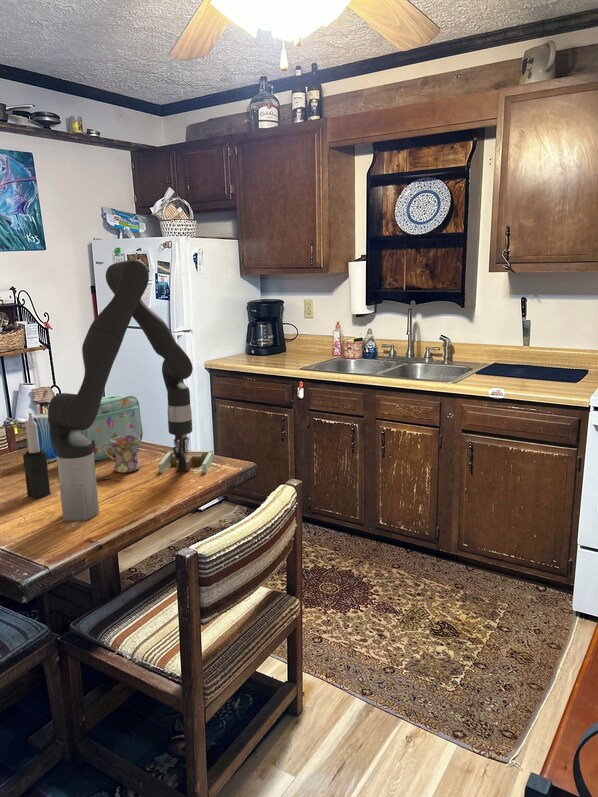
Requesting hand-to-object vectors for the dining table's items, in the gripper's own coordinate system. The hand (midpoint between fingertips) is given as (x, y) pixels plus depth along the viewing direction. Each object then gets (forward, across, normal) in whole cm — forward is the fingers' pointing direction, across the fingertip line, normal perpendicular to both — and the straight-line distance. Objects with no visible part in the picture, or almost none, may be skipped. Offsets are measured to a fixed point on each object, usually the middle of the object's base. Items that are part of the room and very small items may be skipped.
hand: (182, 469), depth 191 cm
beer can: (+1, +14, +50) cm, 52 cm away
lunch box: (+1, +21, +32) cm, 38 cm away
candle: (+1, -19, +38) cm, 43 cm away
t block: (+1, +7, 0) cm, 7 cm away
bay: (+1, +6, 0) cm, 6 cm away
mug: (+1, +3, +20) cm, 21 cm away
